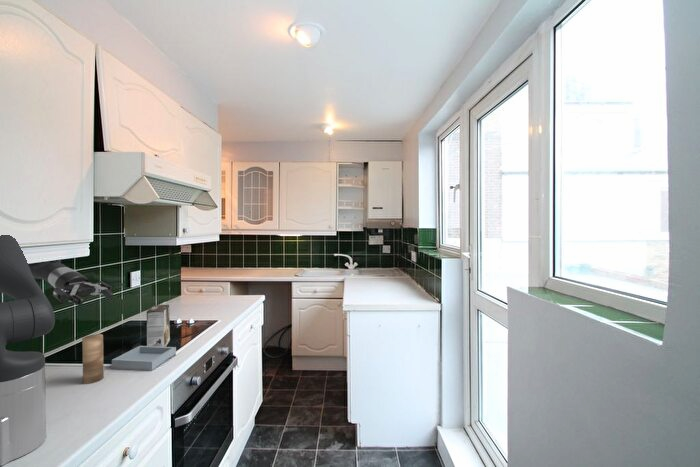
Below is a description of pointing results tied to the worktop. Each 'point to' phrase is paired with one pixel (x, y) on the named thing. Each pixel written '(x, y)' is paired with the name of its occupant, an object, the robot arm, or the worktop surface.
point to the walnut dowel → (92, 358)
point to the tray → (144, 358)
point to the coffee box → (158, 326)
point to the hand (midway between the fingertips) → (97, 299)
